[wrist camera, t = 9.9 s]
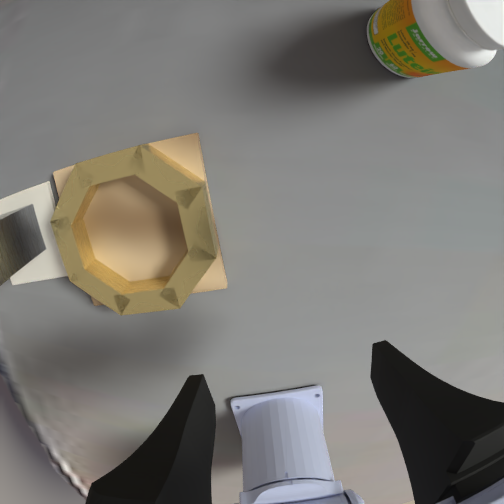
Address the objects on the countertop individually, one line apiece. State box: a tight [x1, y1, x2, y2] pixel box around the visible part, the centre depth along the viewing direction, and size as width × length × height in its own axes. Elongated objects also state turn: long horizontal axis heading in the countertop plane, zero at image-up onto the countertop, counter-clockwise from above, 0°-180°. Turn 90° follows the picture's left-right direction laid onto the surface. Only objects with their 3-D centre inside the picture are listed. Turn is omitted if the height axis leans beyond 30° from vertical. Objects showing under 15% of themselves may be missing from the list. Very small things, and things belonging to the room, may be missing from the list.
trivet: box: [0, 181, 68, 285], centre depth 20 cm, size 7×7×1 cm
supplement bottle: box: [367, 0, 504, 78], centre depth 12 cm, size 5×5×10 cm
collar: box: [50, 144, 219, 315], centre depth 19 cm, size 10×10×2 cm
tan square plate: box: [53, 133, 227, 306], centre depth 20 cm, size 10×10×1 cm
